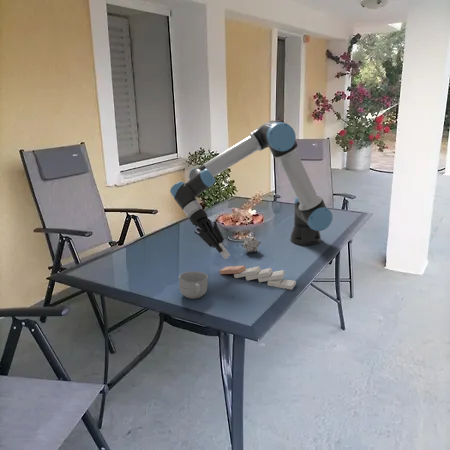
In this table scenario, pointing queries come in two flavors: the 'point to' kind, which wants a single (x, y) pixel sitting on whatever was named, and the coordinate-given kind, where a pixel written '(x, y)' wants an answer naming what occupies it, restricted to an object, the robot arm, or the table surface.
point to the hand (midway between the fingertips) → (227, 257)
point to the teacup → (193, 284)
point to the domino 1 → (232, 269)
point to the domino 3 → (260, 274)
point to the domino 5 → (282, 283)
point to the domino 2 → (247, 272)
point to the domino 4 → (273, 276)
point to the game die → (251, 244)
